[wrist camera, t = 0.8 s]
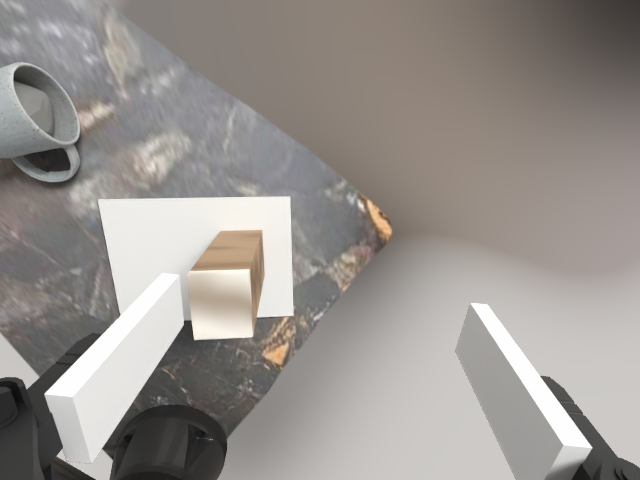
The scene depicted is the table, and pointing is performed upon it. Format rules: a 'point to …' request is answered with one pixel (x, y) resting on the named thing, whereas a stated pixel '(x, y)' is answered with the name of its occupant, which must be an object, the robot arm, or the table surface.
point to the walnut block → (227, 286)
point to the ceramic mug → (36, 119)
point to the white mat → (194, 243)
